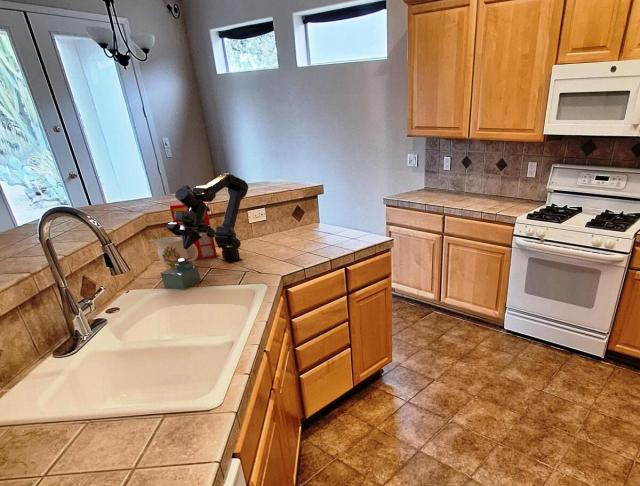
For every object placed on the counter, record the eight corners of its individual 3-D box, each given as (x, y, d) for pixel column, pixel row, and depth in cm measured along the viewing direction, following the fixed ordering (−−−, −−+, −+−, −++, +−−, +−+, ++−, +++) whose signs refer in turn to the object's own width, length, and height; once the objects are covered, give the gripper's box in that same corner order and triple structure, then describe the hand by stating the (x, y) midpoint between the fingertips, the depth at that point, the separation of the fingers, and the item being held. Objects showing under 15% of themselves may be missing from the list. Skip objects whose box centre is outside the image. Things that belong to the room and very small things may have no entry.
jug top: (184, 278, 178) (179, 259, 174) (203, 280, 176) (198, 261, 172) (164, 288, 168) (159, 268, 164) (184, 289, 166) (179, 270, 162)
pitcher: (201, 269, 188) (193, 238, 181) (155, 275, 182) (146, 243, 175) (201, 263, 197) (194, 233, 190) (158, 268, 191) (149, 237, 184)
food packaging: (216, 254, 210) (204, 201, 198) (217, 256, 206) (205, 202, 194) (183, 258, 204) (169, 204, 193) (183, 261, 200) (169, 206, 189)
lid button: (183, 262, 172) (182, 258, 171) (190, 262, 171) (189, 258, 171) (177, 265, 169) (175, 260, 168) (184, 265, 168) (183, 261, 168)
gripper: (163, 202, 169) (150, 237, 165) (203, 203, 165) (192, 239, 160) (181, 218, 179) (170, 251, 175) (220, 219, 175) (210, 253, 171)
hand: (185, 248), depth 170 cm, fingers closed
